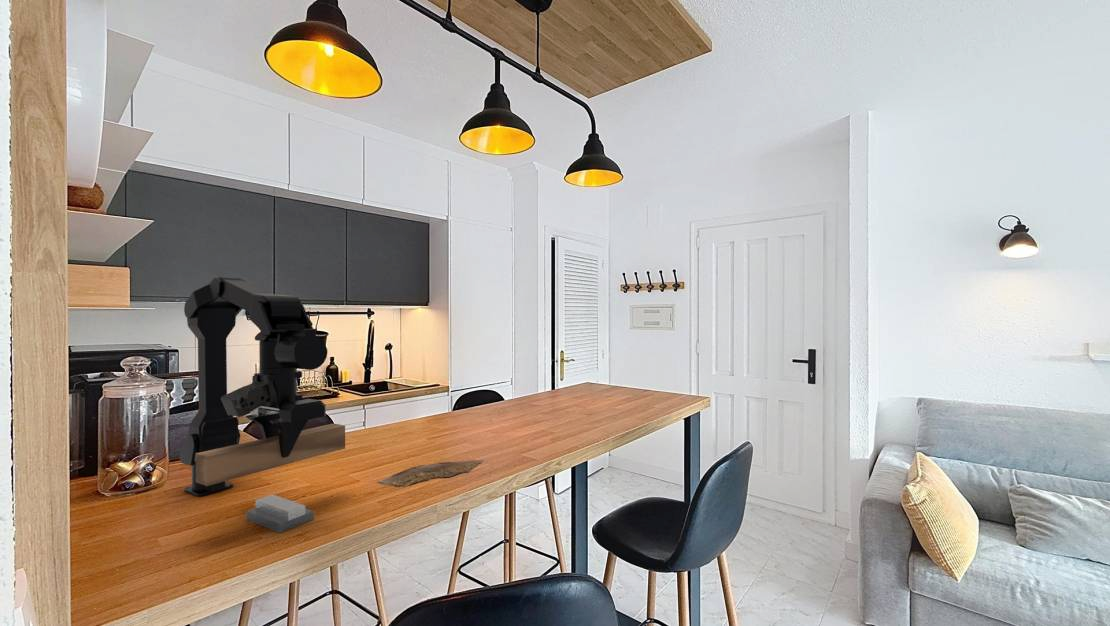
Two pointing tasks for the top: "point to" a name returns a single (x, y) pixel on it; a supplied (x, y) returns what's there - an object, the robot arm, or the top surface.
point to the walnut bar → (265, 454)
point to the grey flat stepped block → (279, 513)
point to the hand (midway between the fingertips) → (278, 455)
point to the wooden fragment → (428, 472)
